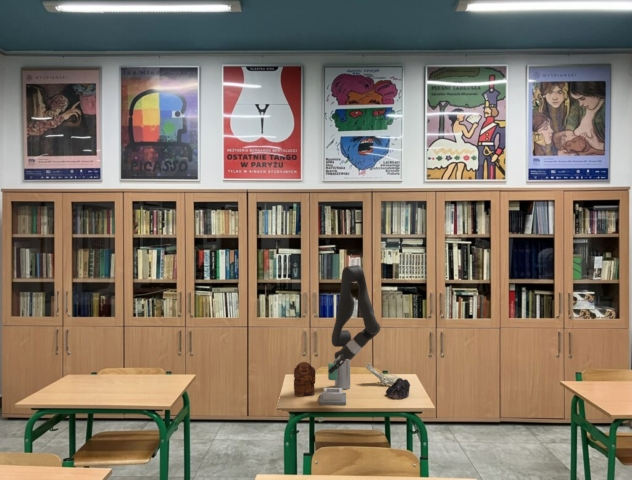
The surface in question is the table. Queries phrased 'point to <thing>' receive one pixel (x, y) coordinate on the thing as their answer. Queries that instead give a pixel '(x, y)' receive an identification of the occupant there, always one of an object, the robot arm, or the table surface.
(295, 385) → the wooden figurine
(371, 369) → the skeletal model
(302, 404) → the table surface
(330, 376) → the green cap
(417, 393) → the table surface
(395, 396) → the crystal cluster
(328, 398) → the socket board
